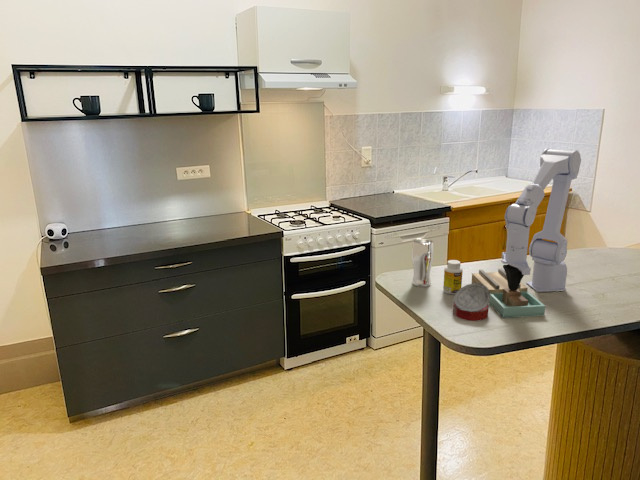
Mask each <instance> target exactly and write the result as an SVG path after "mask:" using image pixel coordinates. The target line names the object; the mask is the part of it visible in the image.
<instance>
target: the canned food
mask: <svg viewBox="0 0 640 480" xmlns="http://www.w3.org/2000/svg"><path fill="white" fill-rule="evenodd" d="M453 296H454V297H453V302H452V304H453V305H452V314H453V315H454V316H455V317H457V318H458V319H460V320H464V321H468V322H469V321H471V322H479V321H484V320H486V319H487V318H488V316H489V307H490V304H489V301H490V292H489V290H488V288H487V287H486V286H484V285H483V284H481V283H472V282H471V283H469V284H466V285H464V286H461V288H460V290H459V291H458V292H456V294H455V295H453Z"/></svg>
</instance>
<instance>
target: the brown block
mask: <svg viewBox="0 0 640 480" xmlns="http://www.w3.org/2000/svg"><path fill="white" fill-rule="evenodd" d="M518 295H521V291H519V290H518V289H517V290H510V289H509V288H508V289H503V299H502V301H503V302H504V303H505V304H506V305H508V296H518Z"/></svg>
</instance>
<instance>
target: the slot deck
mask: <svg viewBox="0 0 640 480" xmlns="http://www.w3.org/2000/svg"><path fill="white" fill-rule="evenodd" d="M472 283H481V284H483V285H484V286H486V287H487V288H488V290H489V292H490V293H501V292H503V289H508V288H509V287H508V282H507V276H506V273H505V270H504V269H503V268H498V269H497V271H495V272H492V271H491V272H485V270H483V269H478V272H477V273H476V272H475V273H471V284H472ZM518 290H519V291H528V287H527V286H526V285H525V284H524V283H522V281H521V282H520V284H519V287H518Z"/></svg>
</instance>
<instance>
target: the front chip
mask: <svg viewBox="0 0 640 480" xmlns="http://www.w3.org/2000/svg"><path fill="white" fill-rule="evenodd" d="M508 306H509V307H512V306H528V300H527V299H526V298H524V297H523V296H522V295H518V296H508Z"/></svg>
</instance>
